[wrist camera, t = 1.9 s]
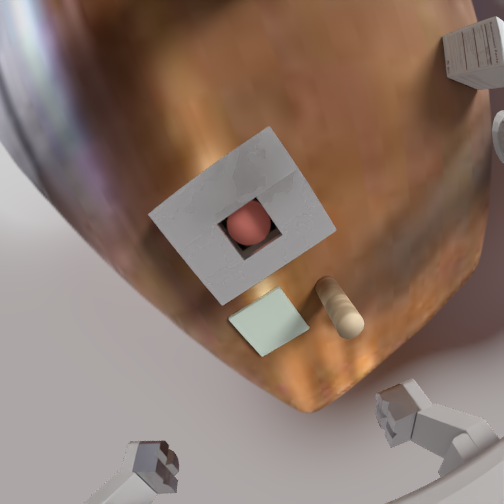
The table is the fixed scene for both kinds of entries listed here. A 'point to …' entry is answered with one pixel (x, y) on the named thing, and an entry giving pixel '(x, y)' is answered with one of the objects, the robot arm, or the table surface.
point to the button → (249, 223)
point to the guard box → (231, 199)
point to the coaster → (269, 321)
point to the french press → (499, 135)
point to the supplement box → (476, 54)
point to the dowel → (339, 308)
